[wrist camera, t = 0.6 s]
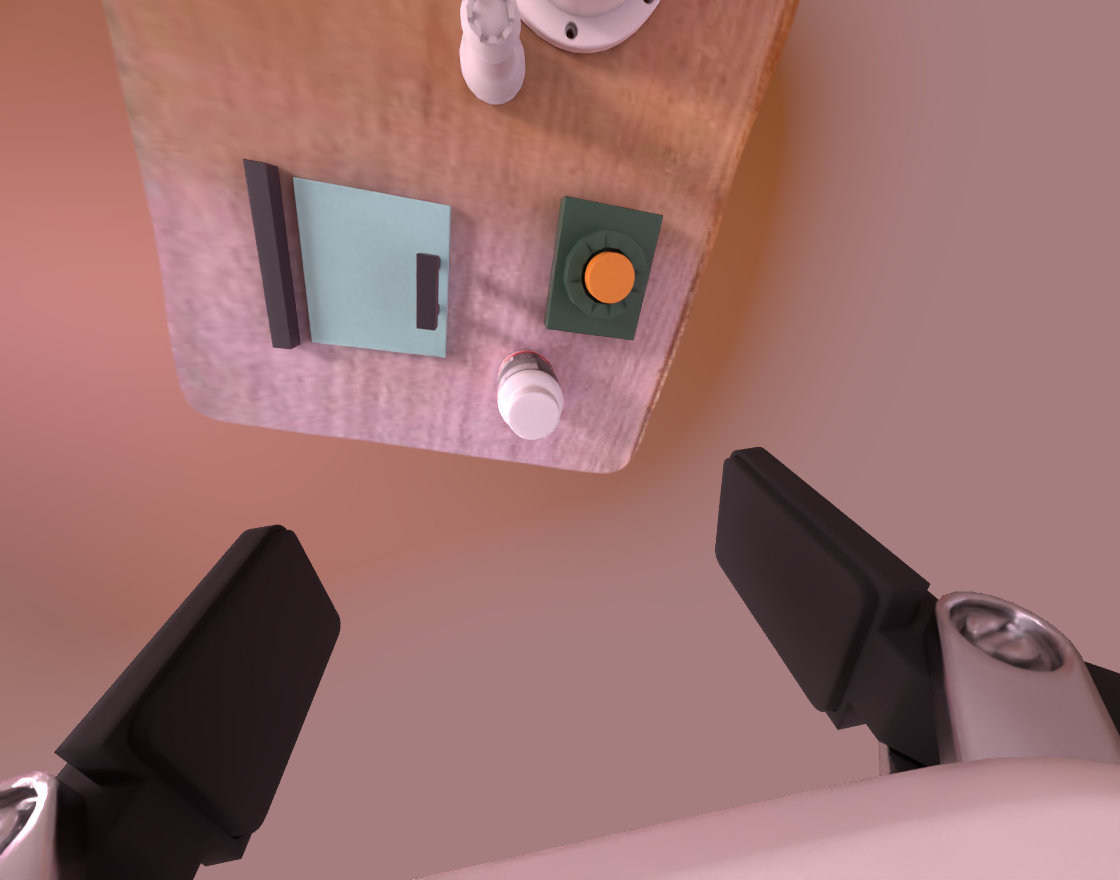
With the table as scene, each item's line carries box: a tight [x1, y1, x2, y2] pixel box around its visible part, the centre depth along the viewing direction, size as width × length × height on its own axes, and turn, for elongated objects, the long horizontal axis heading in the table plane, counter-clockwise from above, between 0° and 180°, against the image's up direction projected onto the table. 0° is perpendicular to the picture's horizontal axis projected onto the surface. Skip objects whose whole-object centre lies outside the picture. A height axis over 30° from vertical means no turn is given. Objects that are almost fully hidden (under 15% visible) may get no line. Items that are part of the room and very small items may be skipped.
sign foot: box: [243, 159, 300, 349], centre depth 31 cm, size 13×1×2 cm, turn 171°
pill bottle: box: [497, 350, 564, 440], centre depth 35 cm, size 5×5×10 cm
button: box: [585, 252, 635, 303], centre depth 31 cm, size 4×4×2 cm
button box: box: [544, 196, 663, 340], centre depth 34 cm, size 10×8×4 cm
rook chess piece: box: [460, 0, 525, 104], centre depth 25 cm, size 4×4×8 cm
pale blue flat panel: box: [293, 177, 451, 358], centre depth 31 cm, size 12×11×6 cm
